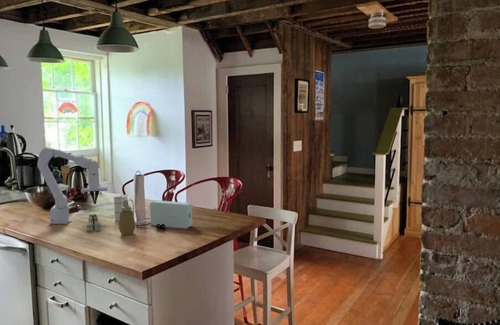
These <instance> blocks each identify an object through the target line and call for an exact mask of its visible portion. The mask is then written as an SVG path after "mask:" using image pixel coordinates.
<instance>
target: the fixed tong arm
mask: <svg viewBox="0 0 500 325" xmlns="http://www.w3.org/2000/svg"><path fill="white" fill-rule="evenodd" d="M88 217H92V220H93V229H94V232H98V231H102V222H101V221H99V218H98V214H96V213H92V214H88Z"/></svg>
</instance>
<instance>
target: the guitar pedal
mask: <svg viewBox="0 0 500 325" xmlns="http://www.w3.org/2000/svg"><path fill="white" fill-rule="evenodd" d="M149 206H150V208H149V209H150V211H149V212H150V224H151V226H155V225H157V224H164V225H165V226H166V227H167V228H176V229H188V228H190V227H191V226H192V225H193V205H192V203H190V202H182V201H169V200H155V201H152V202H150V205H149ZM165 226H164V227H165Z"/></svg>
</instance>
